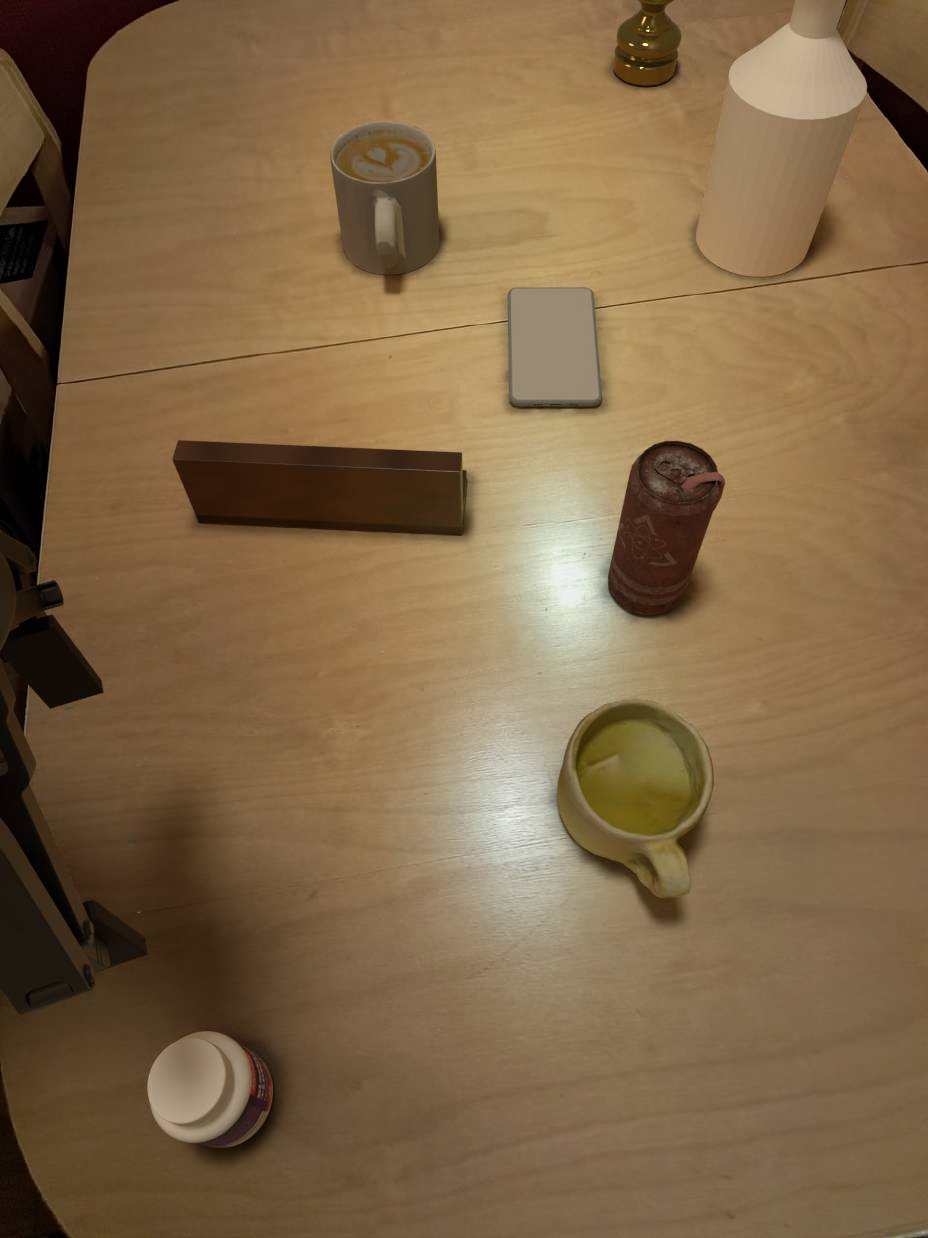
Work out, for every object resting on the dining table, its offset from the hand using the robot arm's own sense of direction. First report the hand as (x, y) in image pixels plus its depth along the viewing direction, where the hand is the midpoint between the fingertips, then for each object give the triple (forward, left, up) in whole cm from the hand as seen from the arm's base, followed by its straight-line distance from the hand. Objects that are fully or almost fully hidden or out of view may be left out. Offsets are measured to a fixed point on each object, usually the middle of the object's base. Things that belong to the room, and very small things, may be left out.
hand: (94, 816), depth 44 cm
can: (+30, +28, -20) cm, 46 cm away
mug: (+28, +8, -20) cm, 35 cm away
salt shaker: (+32, +102, -20) cm, 109 cm away
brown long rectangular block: (+4, +35, -20) cm, 40 cm away
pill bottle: (+4, -10, -20) cm, 23 cm away
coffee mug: (+5, +67, -20) cm, 70 cm away
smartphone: (+22, +54, -20) cm, 61 cm away
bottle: (+42, +71, -20) cm, 85 cm away
